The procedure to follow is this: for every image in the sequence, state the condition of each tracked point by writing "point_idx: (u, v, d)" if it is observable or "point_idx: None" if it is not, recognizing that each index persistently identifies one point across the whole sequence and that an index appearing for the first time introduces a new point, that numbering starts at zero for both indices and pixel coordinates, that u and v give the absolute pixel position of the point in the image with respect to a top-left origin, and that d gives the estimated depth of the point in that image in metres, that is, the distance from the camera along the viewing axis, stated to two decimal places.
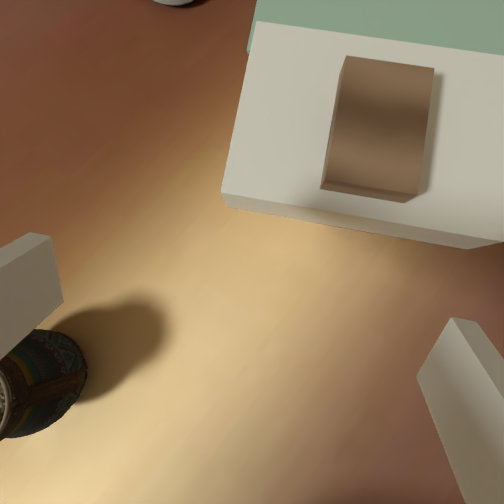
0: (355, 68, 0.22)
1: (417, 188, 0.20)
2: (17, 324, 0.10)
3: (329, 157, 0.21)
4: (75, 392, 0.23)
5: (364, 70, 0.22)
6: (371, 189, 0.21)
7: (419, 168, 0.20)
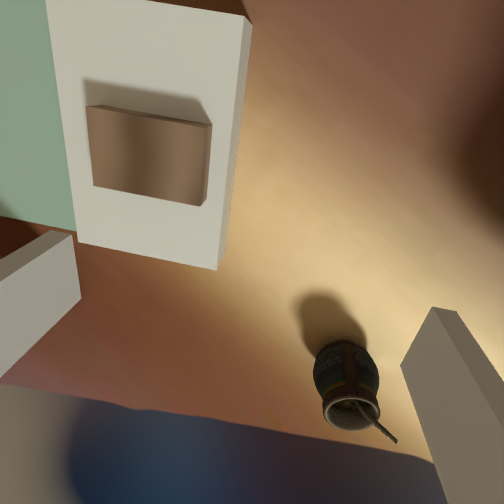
0: (102, 179, 0.25)
1: (199, 127, 0.22)
2: (40, 320, 0.10)
3: (181, 202, 0.25)
4: (356, 352, 0.34)
5: (102, 171, 0.25)
6: (204, 166, 0.24)
7: (181, 125, 0.23)
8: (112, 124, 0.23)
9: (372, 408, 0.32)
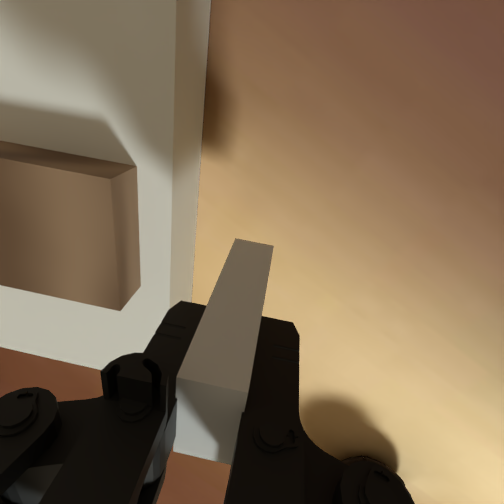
0: None
1: (99, 178, 0.11)
2: None
3: (87, 303, 0.14)
4: None
5: None
6: (121, 243, 0.13)
7: (63, 173, 0.11)
8: None
9: None
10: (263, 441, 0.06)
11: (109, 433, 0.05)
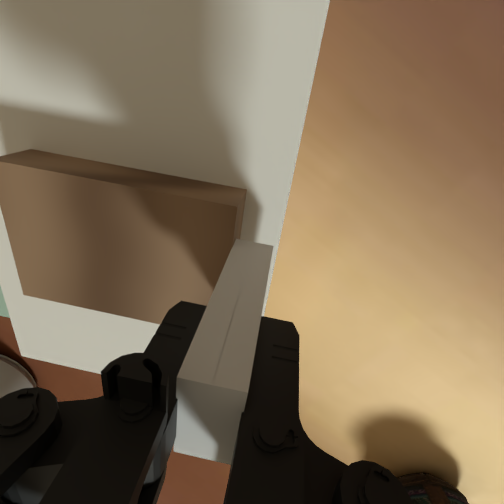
0: (38, 285, 0.14)
1: (225, 205, 0.11)
2: None
3: None
4: None
5: (37, 272, 0.13)
6: None
7: (186, 200, 0.11)
8: (46, 194, 0.11)
9: None
10: (263, 441, 0.06)
11: (109, 433, 0.05)
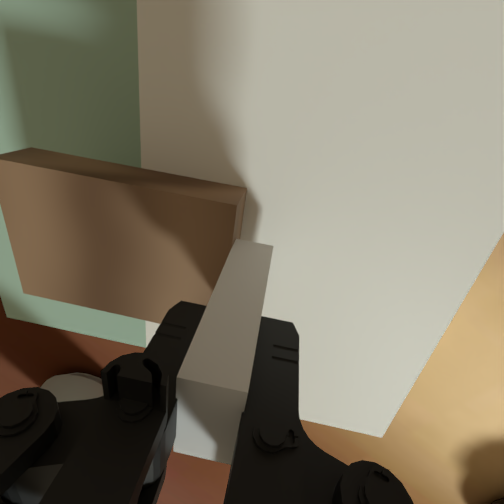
0: (39, 283, 0.14)
1: (224, 204, 0.11)
2: None
3: None
4: None
5: (37, 271, 0.13)
6: None
7: (185, 199, 0.11)
8: (45, 192, 0.11)
9: None
10: (263, 441, 0.06)
11: (109, 433, 0.05)
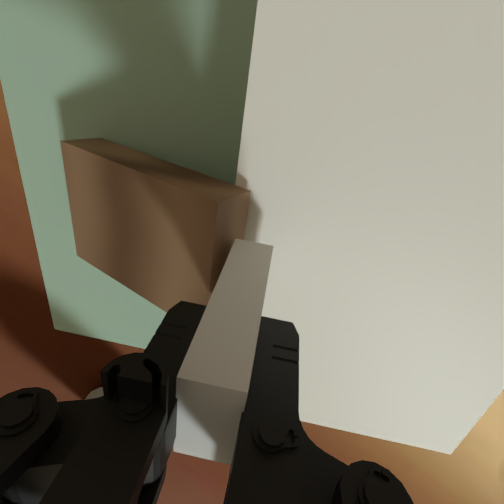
0: (85, 249, 0.16)
1: (208, 200, 0.11)
2: None
3: None
4: None
5: (84, 238, 0.16)
6: (219, 268, 0.12)
7: (177, 190, 0.11)
8: (89, 172, 0.14)
9: None
10: (263, 441, 0.06)
11: (109, 433, 0.05)
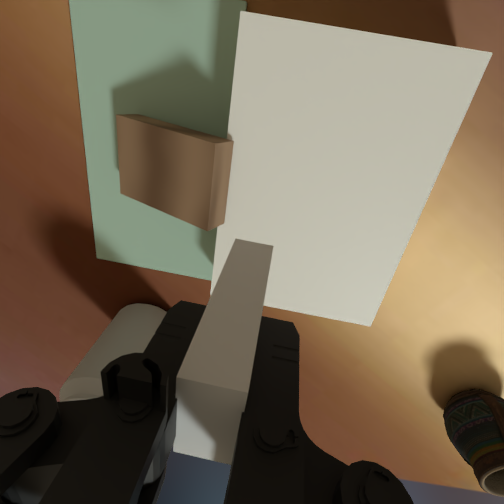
0: (127, 187, 0.25)
1: (210, 142, 0.19)
2: None
3: (191, 223, 0.23)
4: None
5: (127, 180, 0.25)
6: (216, 186, 0.21)
7: (192, 139, 0.20)
8: (135, 133, 0.22)
9: None
10: (263, 441, 0.06)
11: (109, 433, 0.05)
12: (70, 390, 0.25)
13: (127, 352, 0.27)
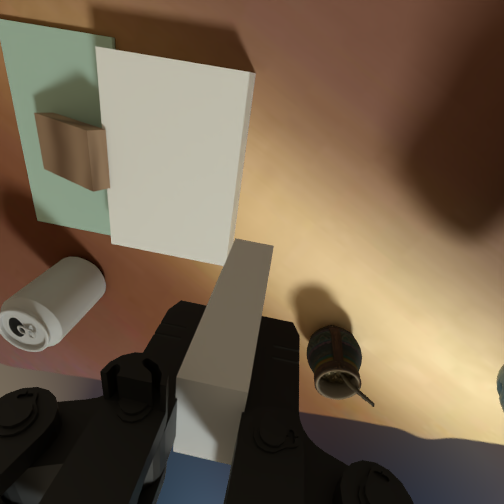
0: (47, 164, 0.35)
1: (84, 130, 0.30)
2: None
3: (84, 187, 0.33)
4: (342, 335, 0.41)
5: (46, 158, 0.35)
6: (94, 160, 0.31)
7: (75, 128, 0.30)
8: (46, 125, 0.33)
9: (355, 379, 0.38)
10: (263, 441, 0.06)
11: (109, 433, 0.05)
12: (6, 306, 0.35)
13: (51, 285, 0.38)
